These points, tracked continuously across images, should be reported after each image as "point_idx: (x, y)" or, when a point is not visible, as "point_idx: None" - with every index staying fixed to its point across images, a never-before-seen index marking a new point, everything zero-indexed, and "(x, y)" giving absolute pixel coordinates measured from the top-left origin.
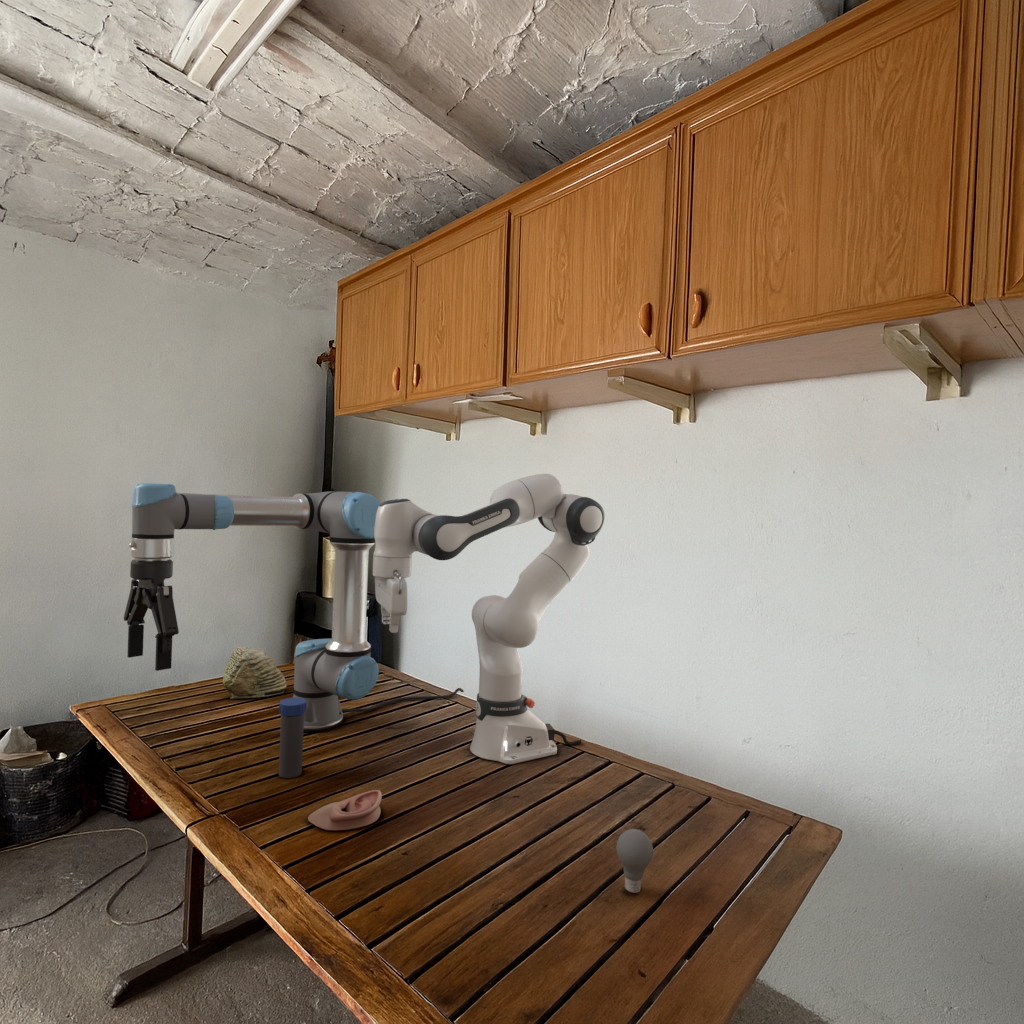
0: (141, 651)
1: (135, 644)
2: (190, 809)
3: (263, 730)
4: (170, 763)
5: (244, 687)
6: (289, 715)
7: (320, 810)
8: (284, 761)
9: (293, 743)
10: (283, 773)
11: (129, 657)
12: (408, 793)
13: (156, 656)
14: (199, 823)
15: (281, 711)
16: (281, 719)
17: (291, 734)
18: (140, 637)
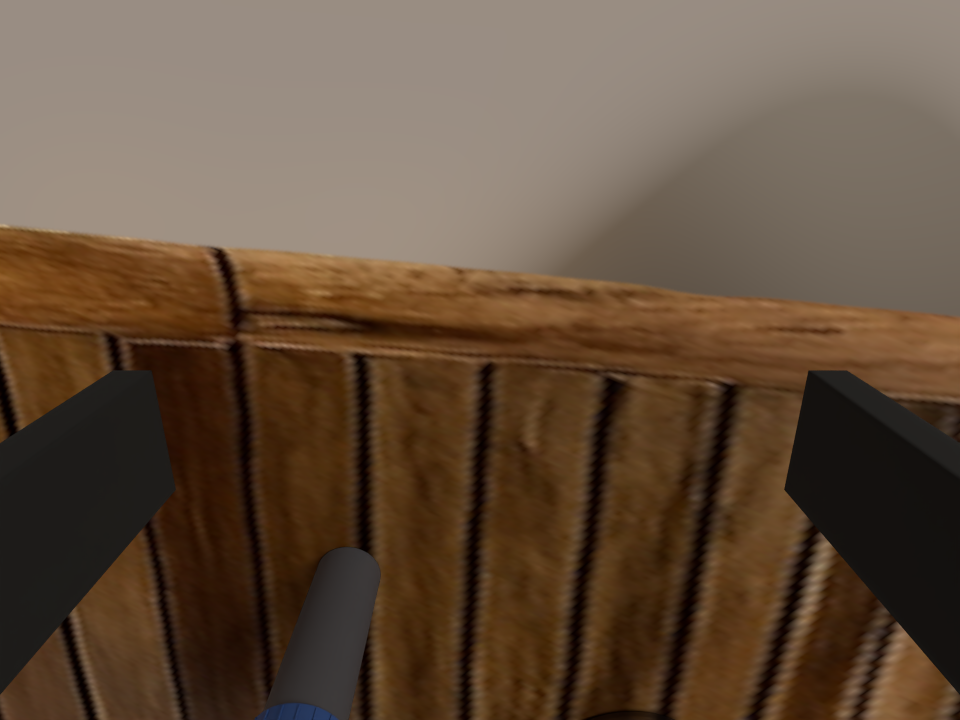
0: (810, 502)
1: (876, 497)
2: (314, 295)
3: (688, 663)
4: (673, 386)
5: None
6: (259, 715)
7: None
8: (322, 581)
9: (290, 639)
10: (332, 556)
11: (807, 376)
12: (53, 685)
13: (35, 436)
14: (212, 276)
15: (290, 714)
16: (310, 688)
17: (283, 660)
18: (917, 602)
